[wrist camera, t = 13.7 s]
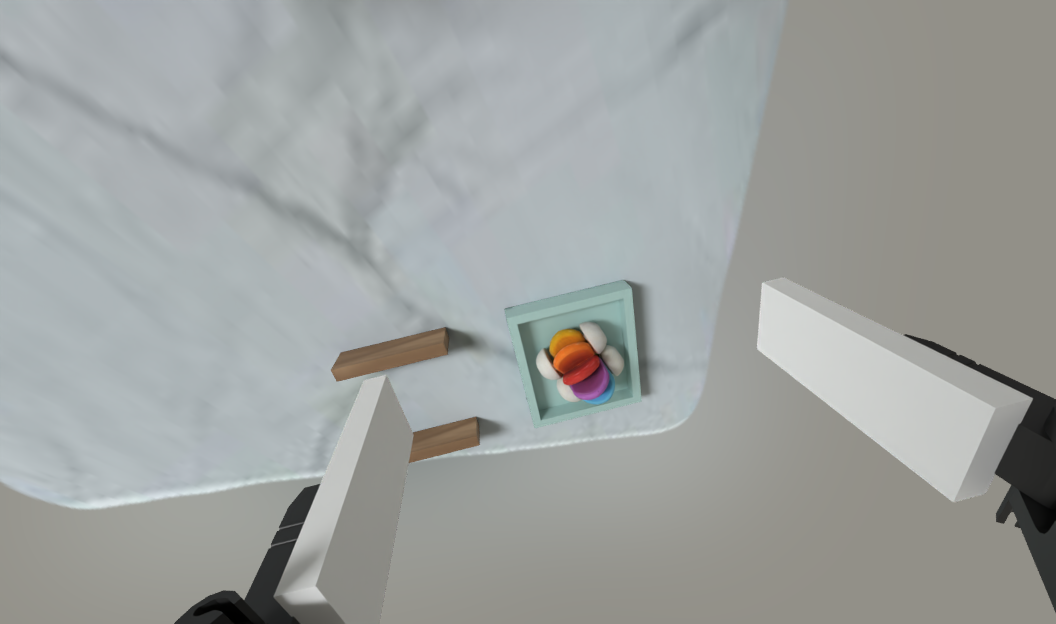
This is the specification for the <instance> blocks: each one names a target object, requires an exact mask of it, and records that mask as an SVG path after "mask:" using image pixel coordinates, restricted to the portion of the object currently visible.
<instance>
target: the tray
mask: <svg viewBox="0 0 1056 624" xmlns="http://www.w3.org/2000/svg"><path fill="white" fill-rule="evenodd" d="M505 314H506V319H507V323H508V327H509V331H510V335H511V339H512V343H513V346H514V350H515V354H516V358H517V362H518V366H519V370H520V374H521V377H522V381H523V385H524V389H525V393H526V397H527V401H528V404H529V408H530V412H531V416H532V420H533V424H534V428H538V427H542V426H546V425H550V424H554V423H558V422H562V421H566V420H570V419H574V418H578V417H581V416H585V415H589V414H593V413H597V412H601V411H605V410H609V409H613V408H617V407H621V406H625V405H629V404H633V403H637V402H641V401H642V400H641V388H640V377H639V365H638V354H637V342H636V331H635V319H634V308H633V296H632V288H631V287H630V286H629V285H628V284H627V283H626V282H625V281H624V280H621V281H617V282H613V283H609V284H604V285H600V286H596V287H592V288H588V289H584V290H580V291H576V292H572V293H567V294H563V295H559V296H555V297H551V298H547V299H543V300H539V301H534V302H530V303H526V304H522V305H518V306H514V307H510V308H506V309H505ZM583 322H594V323H596V324H598V325H599V327H600V328H601V330H602V331H603V333H604V334H605V336H606V338H607V343H606V345H610V346H613V347H615V348H616V349H617V351H618V352H619V354H620V355H621V356H622V358H623V360H624V367H623V370H622V372H621V373H620V374H619V375H618V376H615V375H614V374H612V375H613V377H614V379H615V390H614V393H613V395H612V397H611V398H610V399H609V400H608V401H607V402H605V403H603V404H597V405H596V404H590V403H587V402H585V401H583V400H581V401H578V402H570V401H567V400H565V399H564V398H563V397H562V396H561V395H560V393H559V391H558V389H557V380H550V379H547V378H545V377H544V376H543V375H542V374H541V373H540V371H539V370H538V368H537V365H536V359H537V355H538V353H539V352H540V351H541V349H543V348H546V349H547V350H548V351H549V347H550V342H551V339H552V337H553V336H554V335H555V334H556V333H557V332H558V331H560V330H563V329H574V330H577V331H579V332H581V333H582V334H583V335H584V333H583V332H582V330H581V328H580V326H579V325H580V324H581V323H583Z"/></svg>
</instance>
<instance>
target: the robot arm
mask: <svg viewBox="0 0 1056 624" xmlns="http://www.w3.org/2000/svg"><path fill="white" fill-rule="evenodd" d="M757 349H758V350H759V351H760V352H761V353H763V354H764V355H765V356H767V357H768V358H769V359H771V360H772V361H773V362H774V363H776V364H777V365H778V366H779V367H781V368H782V369H783V370H785V371H786V372H787V373H788V374H790V375H791V376H792V377H794V378H795V379H796V380H797V381H799V382H800V383H801V384H802V385H804V386H805V387H807V388H808V389H809V390H810V391H811V392H813V393H814V394H815V395H816V396H818V397H819V398H820V399H822V400H823V401H824V402H825V403H827V404H828V405H829V406H831V407H832V408H833V409H834V410H836V411H837V412H838V413H840V414H841V415H842V416H843V417H845V418H846V419H847V420H849V421H850V422H851V423H852V424H854V425H855V426H856V427H857V428H859V429H860V430H861V431H863V432H864V433H865V434H866V435H868V436H869V437H870V438H872V439H873V440H874V441H876V442H877V443H878V444H879V445H881V446H882V447H883V448H884V449H886V450H887V451H889V453H891V454H892V455H893V456H895V457H896V458H897V459H899V460H900V461H901V462H902V463H904V464H905V465H906V466H907V467H909V468H910V469H911V470H913V471H914V472H915V473H916V474H918V475H919V476H921V477H922V478H923V479H924V480H925V481H927V482H928V483H929V484H931V485H932V486H933V487H934V488H936V489H937V490H938V491H940V492H941V493H942V494H943V495H945V496H946V497H947V498H948V499H950V500H951V501H952V502H957V501H961V500H964V499H968V498H972V497H975V496H979V495H983V494H986V492H987V490H988V488H989V486H990V484H991V482H992V480H993V478H994V476H995V474H996V475H998V476H999V477H1001V478H1002V479H1004V480H1005V481H1007V482H1008V483H1010V484H1011V487H1010V489H1009V491H1008V493H1007V494H1006V496H1005V498H1004V500H1003V502H1002V504H1001V506H1000V507H999V509H998V511H997V513H996V522H999V523H1005V521H1006V519H1007V517H1008V515H1009V514H1010V513H1011V512H1014V514H1015V516H1016V518H1017V522H1016V524H1015V527H1018V528H1021V530H1022V533H1023V535H1024V537H1025V540H1026V542H1027V545H1028V547H1029V550H1030V552H1031V554H1032V557H1033V559H1034V562H1035V564H1036V566H1037V569H1038V571H1039V574H1040V576H1041V578H1042V581H1043V583H1044V585H1045V588H1046V590H1047V593H1048V595H1049V598H1050V600H1051V602H1052V605H1053V607H1054V610H1055V612H1056V399H1054V398H1052V397H1050V396H1047V395H1045V394H1043V393H1041V392H1039V391H1037V390H1034V389H1032V388H1030V387H1028V386H1026V385H1024V384H1022V383H1020V382H1018V381H1015V380H1013V379H1011V378H1009V377H1007V376H1005V375H1003V374H1000V373H998V372H996V371H994V370H992V369H990V368H988V367H985V366H983V365H981V364H979V365H977V364H976V362H975V361H973V360H971V359H968V358H966V357H964V356H962V355H959V356H958V355H957V354H956V352H953V351H951V350H949V349H947V348H945V347H943V346H941V345H939V344H936V343H934V342H932V341H928V340H924V339H921V338H917V337H914V336H910V335H907V334H905V335H902V334H899V333H897V332H895V331H893V330H891V329H889V328H887V327H885V326H883V325H881V324H879V323H877V322H875V321H873V320H871V319H869V318H867V317H865V316H862V315H860V314H858V313H856V312H854V311H852V310H850V309H848V308H846V307H844V306H842V305H840V304H838V303H836V302H833V301H831V300H830V299H827V298H825V297H823V296H821V295H819V294H817V293H815V292H813V291H811V290H809V289H807V288H805V287H803V286H801V285H799V284H797V283H794V282H792V281H790V280H788V279H786V278H784V277H782V278H778V279H774V280H770V281H765V282H762V291H761V303H760V316H759V328H758V340H757ZM413 436H414V435H413V432H412V430H411V428H410V426H409V424H408V421H407V419H406V417H405V415H404V413H403V410H402V408H401V406H400V404H399V401H398V399H397V397H396V395H395V393H394V390H393V388H392V386H391V384H390V382H389V379H388V377H387V375H383V376H379V377H375V378H371V379H367V380H364V381H363V383H362V386H361V388H360V390H359V393H358V395H357V398H356V400H355V402H354V405H353V407H352V410H351V412H350V414H349V417H348V419H347V422H346V424H345V426H344V429H343V431H342V434H341V436H340V438H339V441H338V443H337V446H336V448H335V450H334V453H333V455H332V458H331V460H330V462H329V465H328V467H327V470H326V472H325V474H324V477H323V479H322V482H321V484H318V485H314V486H310V487H306V488H304V489H303V491H302V492H301V493H300V494H299V495H298V496H297V498H296V499H295V500H294V501H293V502H292V504H291V505H290V506H289V508H288V509H287V512H286V514H285V516H284V518H283V520H282V522H281V524H280V526H279V528H280V530H279V531H277V533H276V535H275V537H274V539H273V541H272V543H271V548H270V549H269V550H268V552H267V554H266V556H265V558H264V560H263V562H262V564H261V566H260V568H259V570H258V573H257V575H256V577H255V579H254V581H253V583H252V585H251V588H250V589H249V592H248V594H247V596H246V598H245V600H243V599H242V598H241V597H240V596H239V595H238V594H237V593H236V592H235V591H221V592H218V593H215V594H213V595H210V596H208V597H206V598H205V599H203V600H202V601H200V602H199V603H197V604H195V605H194V606H192V607H191V608H190V609H189V610H188V611H187V612H186V613H185V614H184V615H183V616H181V617H180V618H179V619H178V620H177V621H176V622H175V623H174V624H379V623H380V618H381V612H382V607H383V601H384V596H385V590H386V584H387V579H388V574H389V568H390V563H391V557H392V552H393V546H394V540H395V535H396V530H397V524H398V519H399V513H400V508H401V502H402V497H403V491H404V486H405V479H406V475H407V469H408V464H409V458H410V453H411V447H412V442H413Z"/></svg>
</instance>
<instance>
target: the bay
mask: <svg viewBox="0 0 1056 624" xmlns="http://www.w3.org/2000/svg"><path fill="white" fill-rule="evenodd" d="M448 345H449V337H448V334H447V331H446V328H445V327H444V328H440V329H436V330H432V331H428V332H424V333H420V334H416V335H411V336H407V337H403V338H399V339H395V340H391V341H387V342H383V343H379V344H374V345H370V346H366V347H362V348H358V349H354V350H350V351H346V352H342V353H340V355H339V357H338V359H337V360H336V362H335V364H334V366H333V367H332V369H331V371H332V373H333V375H334V377H335V379H336V381H341V380H346V379H350V378H354V377H358V376H362V375H366V374H370V373H374V372H378V371H382V370H386V369H390V368H394V367H399V366H403V365H407V364H411V363H415V362H419V361H423V360H427V359H431V358H435V357H439V356H443V355H447V354H448ZM413 435H414V436H413V442H412V447H411V453H410V458H409V463H411V462H415V461H419V460H423V459H427V458H431V457H435V456H439V455H442V454H446V453H450V452H454V451H458V450H462V449H466V448H470V447H474V446H478V445H480V440H479V424H478V421H477V418H476V417H473V418H469V419H465V420H461V421H457V422H453V423H449V424H445V425H441V426H437V427H433V428H429V429H425V430H421V431H417V432H413Z"/></svg>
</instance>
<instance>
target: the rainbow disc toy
mask: <svg viewBox="0 0 1056 624" xmlns="http://www.w3.org/2000/svg"><path fill="white" fill-rule="evenodd" d="M579 326H580V328H581V330H582V332H583V333H584V335H583V334H582V333H581V332H579V331H577V330H574V329H563V330H560V331H558V332H557V333H556V334H555V335H554V336H553V337H552V339H551V342H550V347H549V351H548V350H547V349H546V348H543V349H541V351H540V352H539V353H538V355H537V359H536V365H537V368H538V370H539V371H540V373H541V374H542V375H543V376H544V377H545V378H547V379H550V380H557V389H558V391H559V393H560V395H561V396H562V397H563V398H564V399H565V400H567V401H570V402H578V401H581V400H583V401H585V402H587V403H590V404H596V405H597V404H603V403H605V402H607V401H608V400H609V399H610V398H611V397H612V395H613V393H614V390H615V379H614V377H613V375H612V374H614V375H615V376H618V375H619V374H620V373H621V372H622V370H623V367H624V360H623V358H622V356H621V355H620V354H619V352H618V351H617V349H616V348H615V347H613V346H610V345H606V343H607V338H606V336H605V334H604V333H603V331H602V330H601V328H600V327H599V325H598V324H596V323H594V322H583V323H581V324H580V325H579Z"/></svg>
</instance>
